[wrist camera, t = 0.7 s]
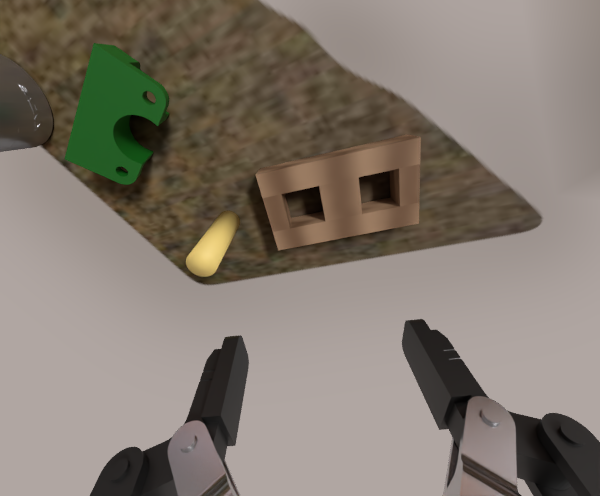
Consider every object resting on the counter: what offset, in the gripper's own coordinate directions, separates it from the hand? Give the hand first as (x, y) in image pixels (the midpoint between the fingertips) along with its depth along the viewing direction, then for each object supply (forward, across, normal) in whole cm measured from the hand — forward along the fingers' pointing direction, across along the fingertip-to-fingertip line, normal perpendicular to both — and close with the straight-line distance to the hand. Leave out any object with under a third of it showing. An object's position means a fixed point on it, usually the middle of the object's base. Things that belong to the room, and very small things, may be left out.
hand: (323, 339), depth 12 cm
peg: (+23, +11, +2) cm, 26 cm away
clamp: (+24, +18, -11) cm, 32 cm away
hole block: (+23, -4, 0) cm, 23 cm away
